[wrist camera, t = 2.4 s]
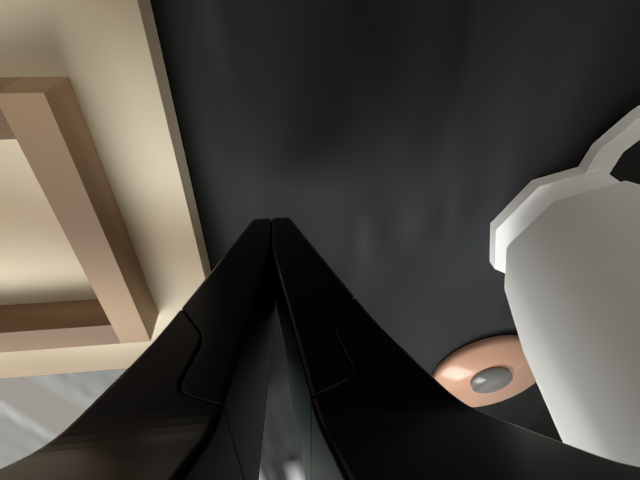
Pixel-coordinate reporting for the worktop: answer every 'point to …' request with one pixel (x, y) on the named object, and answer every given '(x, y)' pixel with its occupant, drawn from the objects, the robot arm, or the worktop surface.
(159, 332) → the board
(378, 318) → the worktop surface
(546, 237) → the cup
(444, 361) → the peach flat disc
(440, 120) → the worktop surface
